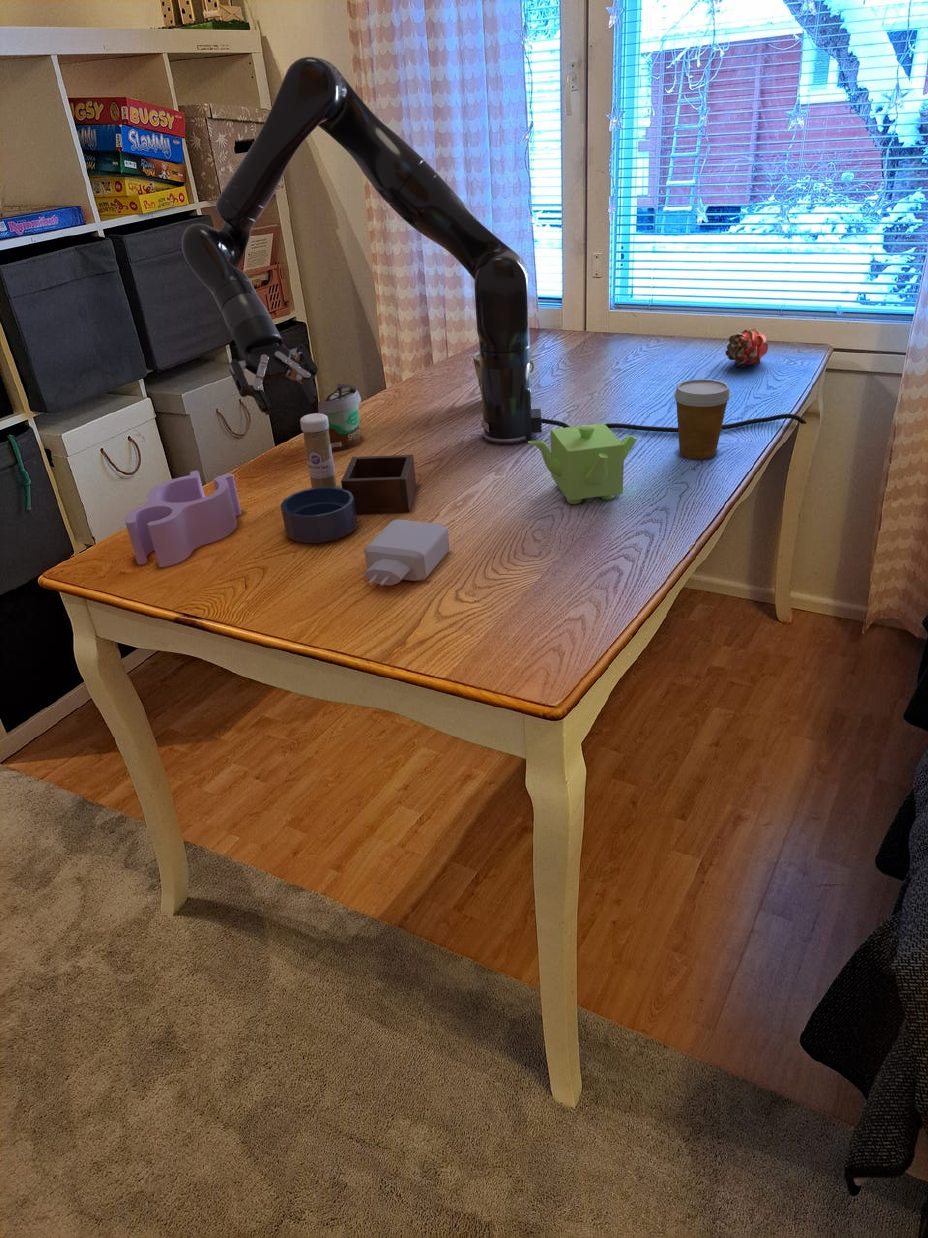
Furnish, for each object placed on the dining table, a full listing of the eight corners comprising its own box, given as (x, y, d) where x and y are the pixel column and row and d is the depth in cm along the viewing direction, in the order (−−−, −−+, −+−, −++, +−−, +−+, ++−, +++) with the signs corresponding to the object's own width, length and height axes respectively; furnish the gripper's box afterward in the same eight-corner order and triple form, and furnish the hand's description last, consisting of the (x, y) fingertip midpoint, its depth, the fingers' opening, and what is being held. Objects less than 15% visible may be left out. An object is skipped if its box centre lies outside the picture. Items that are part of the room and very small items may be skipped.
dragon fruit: (729, 378, 197) (750, 372, 205) (763, 359, 191) (783, 353, 199) (713, 344, 196) (734, 339, 205) (746, 323, 190) (767, 319, 199)
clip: (185, 570, 131) (174, 527, 127) (116, 561, 134) (103, 520, 131) (254, 513, 146) (246, 474, 143) (191, 507, 150) (181, 469, 147)
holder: (416, 486, 152) (413, 454, 149) (409, 512, 143) (405, 478, 140) (356, 488, 153) (352, 456, 150) (345, 514, 144) (340, 481, 141)
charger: (347, 595, 121) (393, 546, 133) (408, 604, 118) (450, 553, 130) (342, 564, 119) (390, 518, 130) (404, 573, 115) (447, 524, 127)
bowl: (362, 514, 144) (358, 485, 141) (350, 545, 134) (346, 515, 132) (295, 516, 145) (290, 487, 142) (278, 547, 135) (273, 517, 133)
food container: (355, 454, 167) (348, 402, 162) (324, 453, 168) (316, 402, 163) (373, 431, 177) (367, 382, 172) (344, 431, 178) (337, 382, 173)
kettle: (605, 518, 136) (606, 449, 131) (525, 502, 144) (523, 436, 138) (644, 483, 147) (647, 417, 141) (568, 469, 154) (568, 407, 148)
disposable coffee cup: (730, 446, 158) (736, 379, 152) (719, 465, 151) (725, 396, 145) (677, 441, 162) (681, 376, 156) (664, 460, 155) (668, 392, 149)
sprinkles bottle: (310, 498, 150) (298, 422, 143) (313, 487, 154) (301, 413, 147) (337, 496, 150) (326, 420, 143) (339, 486, 154) (328, 411, 147)
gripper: (215, 321, 146) (257, 404, 144) (292, 306, 153) (334, 384, 151) (210, 348, 153) (250, 427, 151) (284, 332, 160) (323, 408, 157)
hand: (292, 406), depth 151 cm, fingers open, 8 cm apart
